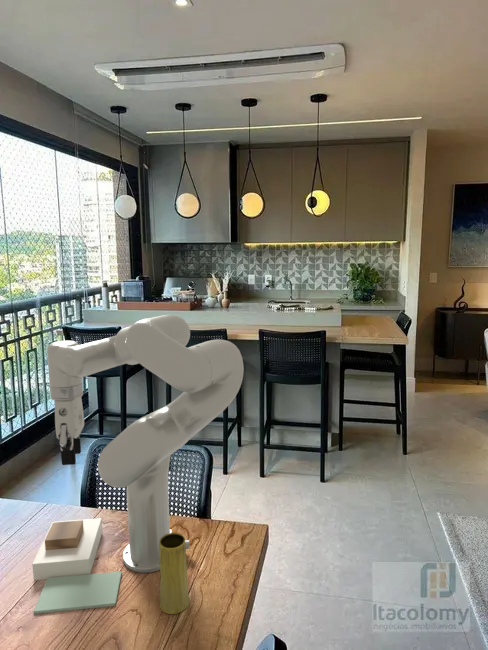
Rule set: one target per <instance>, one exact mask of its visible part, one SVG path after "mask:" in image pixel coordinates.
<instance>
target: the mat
mask: <svg viewBox="0 0 488 650" xmlns="http://www.w3.org/2000/svg"><path fill="white" fill-rule="evenodd" d="M121 579H122V571H121V570H120V571H111V572H100V573H90V574H87V575H76V576H66V577H55V578H47V579H45V583H44V585H43V587H42V590H41V592H40V595H39V597H38V599H37V602H36V605H35V607H34V609H33V612H32V613H33V614H34V615H38V614H39V615H40V614H45V613H46V614H47V613H48V614H49V613H55V612H65V611H67V612H68V611H76V610H85V609H96V608H105V607H106V608H107V607H115V606H116V605H117V601H118V600H117V599H118V596H119V589H120V583H121Z"/></svg>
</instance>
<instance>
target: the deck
mask: <svg viewBox="0 0 488 650" xmlns="http://www.w3.org/2000/svg"><path fill="white" fill-rule="evenodd" d="M80 520H83V529H84V530H83V533H82V535H81V538H80V541H79V544H78V547H77V548H67V549H55V550H45V539H46V537H47V534H48V532H49V530H50V528H51V526H52V524H53V523H55V522H68V521H80ZM102 522H103V521H102V518H101V517H98V518H97V517H96V518H86V519H85V518H84V519H72V520H71V519H70V520H60V521H52V522H51V523H50V527H49V529H48V531H47V533H46V535H45V536H44V540H43V541H42V543H41V545H40V547H39V549H38V551H37V554H36V556H35V558H34V560H33V562H32V565H31V566H32V575H33V581H40V580H41V581H42V580H47V578H55V577H66V576H76V575H87V574H92V570H93V566H94V562H95V559H96V555H97V552H98V549H99V545H100V542H101V537H102V535H103V523H102Z"/></svg>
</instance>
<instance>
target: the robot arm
mask: <svg viewBox="0 0 488 650" xmlns="http://www.w3.org/2000/svg"><path fill="white" fill-rule="evenodd" d="M190 337H191V329H190V325H189V324H188V323H187V321H186V320H185V319H184V318H182V317H181V316H178V315H175V314H162V315H158V316H153V317H149V318H143V319H140V320H138V321H136V322H134V323H133V324H132V325H130V326H127V327H124V328H121V329H120V330H119V331H118V332H117V334H116V335H113V336H110V337H106V338H103V339H99V340H94V341H90V342H86V343H83V344H79V343H78V342H77V341H75V340H59V341H58V340H56V341H54V342H51V343H50V344H48V346H47V349H46V350H47V353H46V354H47V365H48V376H49V377H48V378H49V389H50V390H49V391H50V399H51V400H53V401H54V425H55V426H54V428H55V434H56V435H55V436H56V439H58V440H59V445H60V458H61V465H62V466H69V465H76V463H77V462H76V455H79V454H81V453H82V446H81V438H80V437H81V433H82V431H83V429H84V427H85V416H84V407H83V402H82V401H83V399H82V397H83V395H84V390H83V378H84V377H87V376H91V375H93V374H96V373H99V372H103V371H106V370H110V369H112V368H116V367H119V366H124V365H126V364H127V365H131V366H134V365H138V364H139V365H141V366H142V367H143V368H144V369H146V370H148V371H149V372H150V373H152V374H154V375H156V377H158V378H159V379H161V380H162V381H164V382H165V383H167V384H168V385H170V386H171V387H173V389H174V388H175V389H176V390H178V391H181V392H182V393H181V394H180V395H178V396H177V398H175V399H174V400H173V401H170V403H168V404H166V405H165V406H163V407H161V408H158V409H156V410H155V411H153V412H152V411H151V412H150V413H149V414H146V415H144V416H142V417H140V418H139V419H137V420H135V421H134V422H132V423H131V424H129V425H128V426H127V427H126V428H125V429H123V431H121V432H120V433H118V435H116V436H115V438H114V439H112V440H111V441H110V442H109V443H108V444H107V445H106V446H105V447H104V448H103V449H102V451H101V452H100V454H99V457H98V461H97V471H98V474H99V476H100V478H101V480H102V481H103V482H104V483H105V484H107V485H109V486H111V487H113V488H119V489H120V488H121V489H122V488H126V507H127V511H126V512H127V525H128V526H127V527H128V545H127V546H126V547H125V548H124V551H123V553H122V561H123V563H124V565H125V567H126V568H127V569H129V570H131V571H132V572H136V573H143V574H144V573H147V574H149V573H153V572H156V571H160V555H159V541H160V539H161V537H163V536H164V535H166V534H169V533H173V531H172V529H170V524H171V523H170V503H169V501H170V500H169V499H170V498H169V469H170V463H171V456H172V454H174V453H175V452H177V451H178V450H180V449H181V448H183V446H184V445H185V444H187V443H188V441H190V440H191V438H193V437H194V436H195V435H196V434H198V433H199V432H200V431H201V430H203V429H204V428H205V427H206V426H208V425H209V424H210V423H211V422H212V421H214V420H215V419H217V417H218V416H219V415H220V414H221V413H223V412H224V411H225V410H226V409H228V407H229V406H230V404H231V403H232V402H233V401H234V399H235V398H236V396H237V394H238V393H239V391H240V389H241V385H242V383H243V378H244V369H245V368H244V360H243V356H242V354H241V351H240V349H239V348H238V347H237V345H235V344H234V343H233V342H231V341H229V340H225V339H211V340H207V341H204V342H201V343H198V344H194V345H191V346H189V347H186V346H187V345H188V343H189V341H190V339H191V338H190ZM182 535H183V536H184V537H185V535H184V534H182ZM185 542H186V549H190V539H185Z"/></svg>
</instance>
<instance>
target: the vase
mask: <svg viewBox="0 0 488 650" xmlns="http://www.w3.org/2000/svg"><path fill="white" fill-rule="evenodd" d="M183 535H184V534H182V533H178V532H172V533H169V534H166V535H164V536H163V537H161V539H160V541H159V555H160V570H159V573H160V584H159V585H160V586H159V603H158V604H159V608H160V610H161V611H162V612H163V613H166V614H168V615H177V614H180V613H182V612H184V611H185V610H186V609H187V608H188V607H189V604H190V597H189V584H188V583H189V581H188V580H189V579H188V567H187V550H186V542H185V540H186V537H185V535H184V536H183Z"/></svg>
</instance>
